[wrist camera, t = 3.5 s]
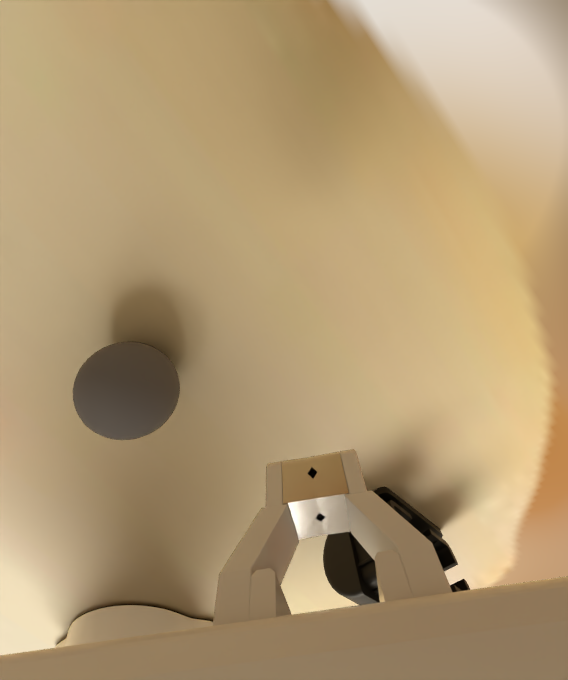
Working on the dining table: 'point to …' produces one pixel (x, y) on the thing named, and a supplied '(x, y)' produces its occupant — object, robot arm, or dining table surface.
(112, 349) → the dark gray ball
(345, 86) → the dining table surface
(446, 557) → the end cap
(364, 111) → the dining table surface
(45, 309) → the dining table surface
